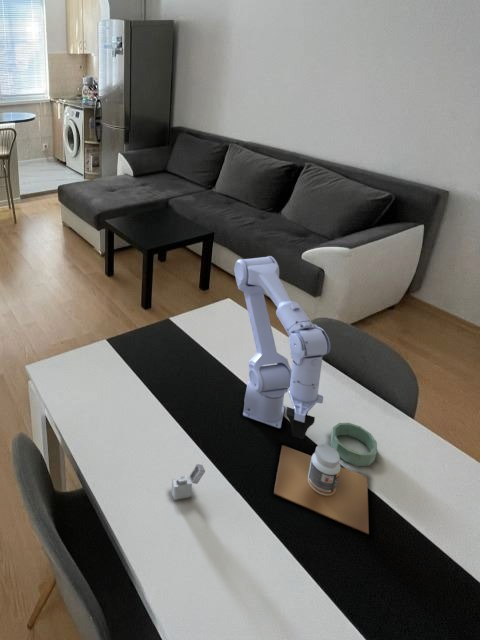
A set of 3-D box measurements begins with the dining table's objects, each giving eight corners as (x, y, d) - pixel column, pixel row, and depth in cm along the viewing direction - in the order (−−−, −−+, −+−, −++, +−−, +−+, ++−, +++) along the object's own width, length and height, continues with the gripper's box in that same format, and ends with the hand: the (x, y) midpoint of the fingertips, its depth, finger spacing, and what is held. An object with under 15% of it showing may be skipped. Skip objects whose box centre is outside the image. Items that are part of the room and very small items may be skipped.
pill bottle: (339, 498, 94) (347, 467, 90) (311, 494, 95) (317, 463, 92) (330, 474, 99) (337, 443, 96) (304, 471, 100) (309, 440, 97)
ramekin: (329, 455, 104) (332, 445, 103) (331, 427, 111) (333, 417, 110) (374, 472, 100) (377, 461, 98) (373, 442, 107) (376, 431, 105)
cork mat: (273, 494, 96) (273, 492, 96) (281, 446, 107) (282, 444, 107) (368, 534, 87) (368, 533, 87) (366, 477, 98) (367, 476, 98)
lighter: (174, 500, 96) (174, 475, 93) (171, 492, 98) (172, 468, 95) (203, 494, 97) (205, 469, 94) (200, 487, 99) (202, 462, 96)
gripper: (323, 403, 89) (316, 454, 93) (327, 363, 100) (321, 410, 104) (286, 392, 92) (281, 442, 96) (293, 355, 104) (289, 400, 108)
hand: (299, 424), depth 101 cm, fingers open, 7 cm apart
